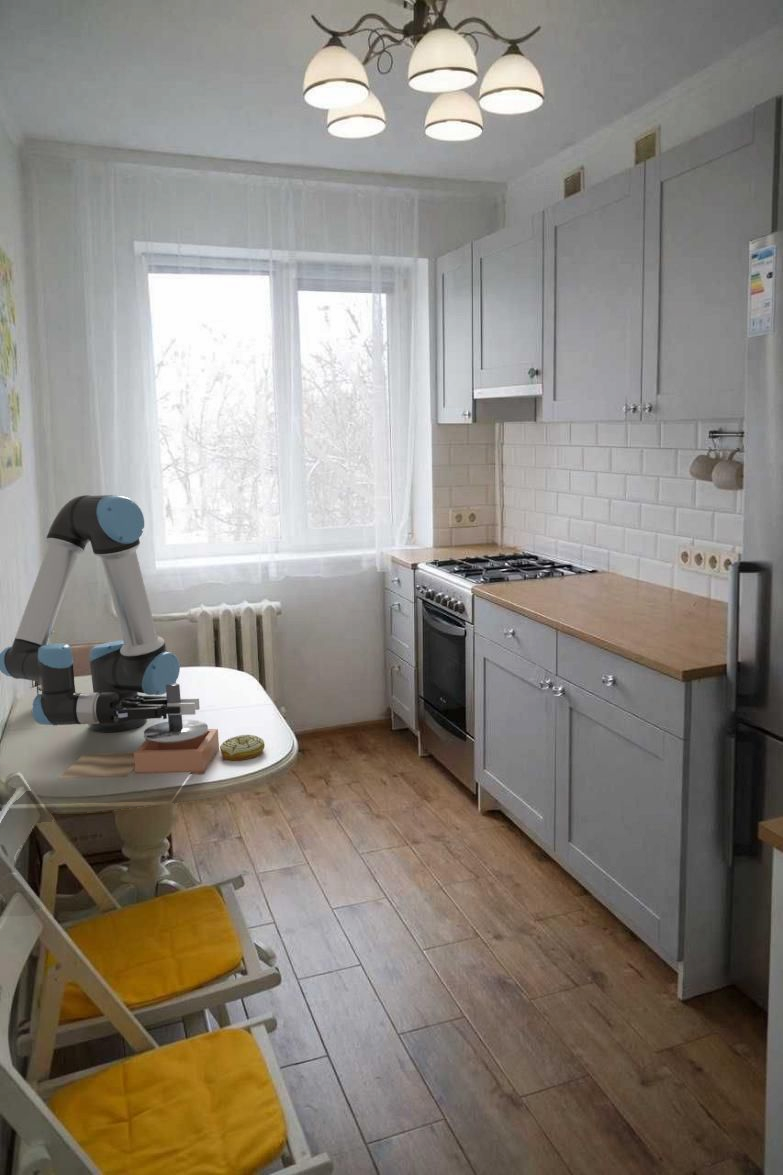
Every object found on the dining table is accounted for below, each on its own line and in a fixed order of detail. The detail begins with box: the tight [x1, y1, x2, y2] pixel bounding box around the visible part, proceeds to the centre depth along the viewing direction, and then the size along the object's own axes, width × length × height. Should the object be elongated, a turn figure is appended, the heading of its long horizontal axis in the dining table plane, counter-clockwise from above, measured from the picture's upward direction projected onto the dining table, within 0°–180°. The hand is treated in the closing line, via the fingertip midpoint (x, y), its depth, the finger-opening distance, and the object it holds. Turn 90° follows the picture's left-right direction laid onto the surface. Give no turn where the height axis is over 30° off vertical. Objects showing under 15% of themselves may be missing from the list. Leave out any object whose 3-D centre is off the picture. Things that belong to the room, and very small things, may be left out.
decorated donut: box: [219, 734, 265, 761], centre depth 219 cm, size 10×11×4 cm
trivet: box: [58, 751, 135, 779], centre depth 214 cm, size 16×16×1 cm
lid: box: [143, 682, 209, 743], centre depth 213 cm, size 15×15×12 cm
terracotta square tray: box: [133, 728, 220, 775], centre depth 215 cm, size 16×16×6 cm
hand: (196, 706), depth 213 cm, fingers closed on lid, 3 cm apart
